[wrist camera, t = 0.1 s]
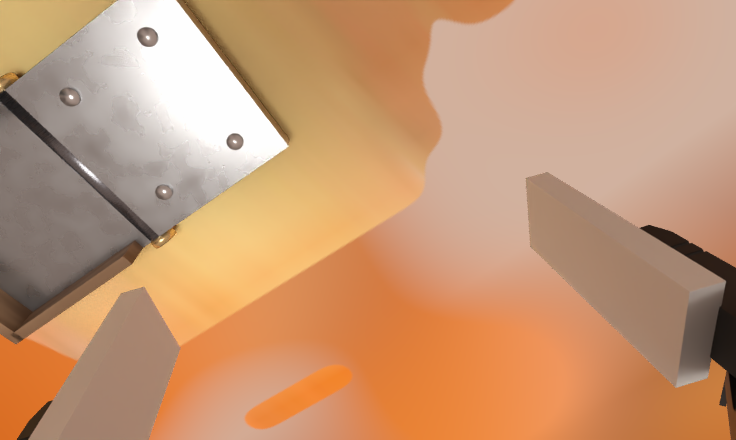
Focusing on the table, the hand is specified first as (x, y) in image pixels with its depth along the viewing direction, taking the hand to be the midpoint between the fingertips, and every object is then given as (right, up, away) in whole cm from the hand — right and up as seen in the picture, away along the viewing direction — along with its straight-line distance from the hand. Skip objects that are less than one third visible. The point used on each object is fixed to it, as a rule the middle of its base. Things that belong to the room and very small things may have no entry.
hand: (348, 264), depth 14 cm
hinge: (-24, +7, +24) cm, 35 cm away
